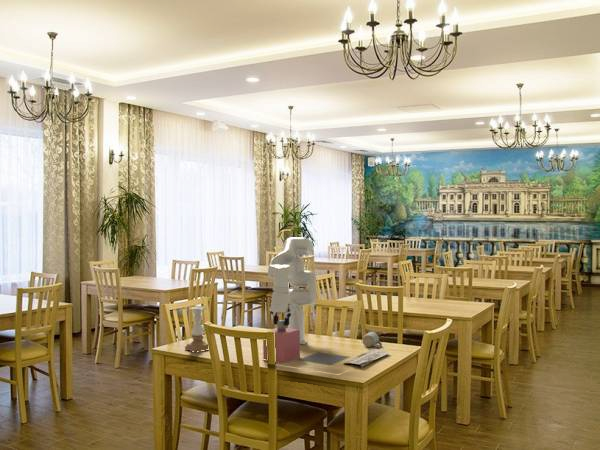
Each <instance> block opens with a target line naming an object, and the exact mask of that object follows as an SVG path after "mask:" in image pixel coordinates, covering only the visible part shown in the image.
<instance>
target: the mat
mask: <svg viewBox="0 0 600 450" xmlns="http://www.w3.org/2000/svg"><path fill="white" fill-rule="evenodd" d="M349 358H350V356H346V355H340V354H332V353H326V352H325V353H324V352H315V353H313V354H310V355H307V356H305V357H304V356H303V357H301V358H299V359H298V358H297V361H300V362H301V361H302V362H308V363H314V364H315V363H316V364H321V365H328V366H331V365H334V364H336V363H339V362H342V361H345V360H347V359H349Z"/></svg>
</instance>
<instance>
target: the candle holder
mask: <svg viewBox="0 0 600 450" xmlns="http://www.w3.org/2000/svg"><path fill="white" fill-rule="evenodd" d="M207 309H208V307H207V306H205V305H204V306H203V305H202V306H201V305H199V306H197V305H196V306H189V307H188V311H192V313H193V314H194V317H193V318H192V320H193V322H194V325H193V327H192V328H191V330H190V331H191V332H190V333H191V334H192V341H191V342H190V343H186V345H185V347H184V350H185V349H187V350H190V351H194V352H197V351H201V350H206V349H208V344H209V343H208V342H205V341H204V336H203V335H204V333H205V328H204V326H203V325H202V320H203V318H202V317H203V316H202V313H203V311H205V310H207ZM203 328H204V329H203ZM207 343H208V344H207ZM190 351H189V352H190Z"/></svg>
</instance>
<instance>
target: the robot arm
mask: <svg viewBox="0 0 600 450" xmlns="http://www.w3.org/2000/svg"><path fill="white" fill-rule="evenodd" d="M313 253H314V243H313V242H312V240H311V239H309V238H307V237H304V236H303V237H300V236H299V237H298V236H297V237H288V238H287V239H285V241H284V244H283V246H282V250H281V252H280V253H278V254H277V255H276V256H274V257H273V258H271V260H270V262H269V264H268V267H267V276H268V277H269V279H270V280H271V279H272V280H273V287H272V291H273V292H272V293H271V294H272V295H271V301H270V307H269V308H268V310H269V312H270V313H271V315H272V317H273V325H274V326H275V325H277V321H278V320H279V316H278V315H279V313H280V314H284V315H283V316H285V317H284V319H283V320H284V323H285V326H286V327H287V328H291V329H300V345H304V344H308V340H307V339H306V338H305V311H304V310H303V308H302V306H314V305H315V304H316V302H317V275H316V273H315V271H313V270H305V265H304V264H305V262H304V260H303V258H302V257H301V256H311V255H312V254H313ZM289 284H290V286H291V287H298V288H291V289H289ZM299 287H302V288H299ZM303 287H305V288H303ZM306 287H307V288H306Z"/></svg>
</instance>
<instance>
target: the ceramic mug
mask: <svg viewBox="0 0 600 450" xmlns="http://www.w3.org/2000/svg"><path fill="white" fill-rule="evenodd" d="M379 337H380V336H379V335H378V334H377V333H376V332H374V331H369V332H368V333H366V334H365V335H364V336H363V337H362V339H361V341H362V344H363V346H364V347H366V348H371V347H376V348H382V346H383V343H382V342H381V341H380V339H379Z"/></svg>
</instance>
